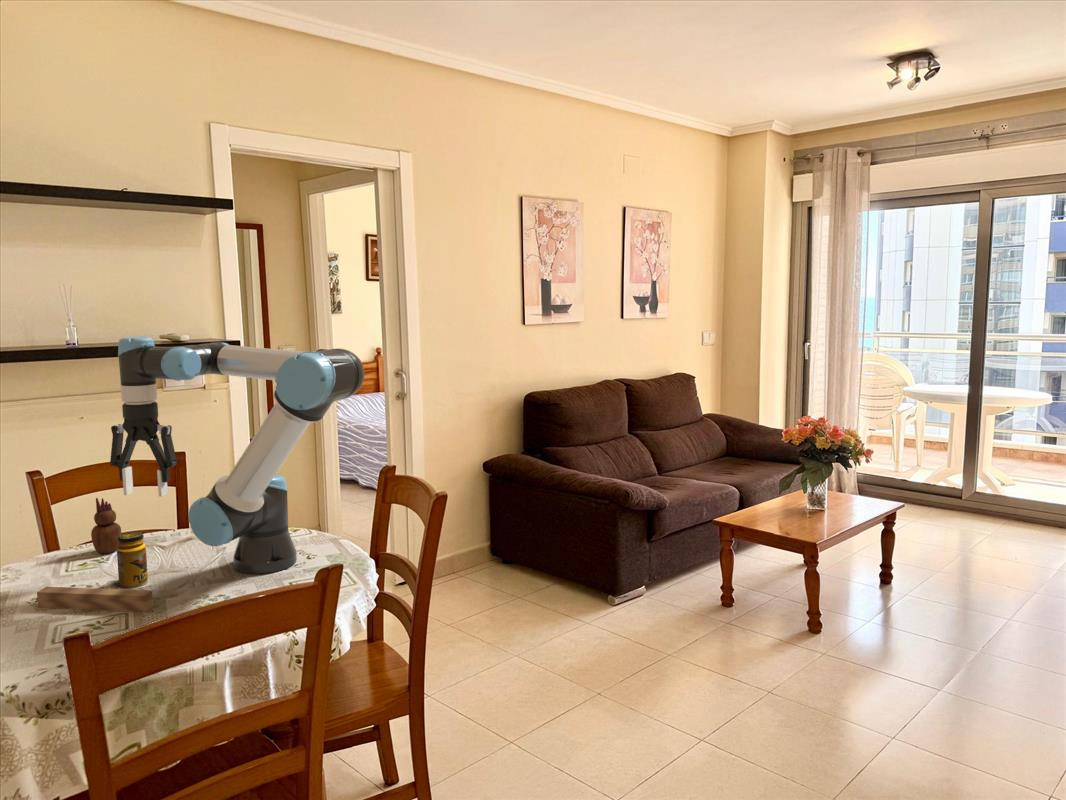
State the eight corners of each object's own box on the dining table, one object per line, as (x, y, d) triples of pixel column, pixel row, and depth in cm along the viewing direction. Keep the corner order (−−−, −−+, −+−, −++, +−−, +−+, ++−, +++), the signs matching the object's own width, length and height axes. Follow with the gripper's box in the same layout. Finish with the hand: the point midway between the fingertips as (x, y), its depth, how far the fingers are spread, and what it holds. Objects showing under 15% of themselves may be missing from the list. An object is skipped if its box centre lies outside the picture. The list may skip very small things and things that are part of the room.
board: (153, 605, 165) (152, 590, 164) (145, 611, 162) (144, 596, 161) (47, 601, 166) (46, 586, 165) (38, 607, 163) (36, 592, 162)
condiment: (151, 585, 175) (148, 536, 174) (110, 593, 171) (106, 543, 169) (147, 575, 181) (144, 528, 180) (107, 582, 177) (103, 534, 175)
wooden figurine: (95, 557, 192) (91, 501, 190) (90, 551, 197) (86, 496, 194) (124, 551, 197) (120, 496, 195) (119, 545, 201) (115, 491, 199)
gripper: (190, 400, 182) (195, 491, 185) (107, 398, 183) (113, 489, 186) (173, 405, 174) (179, 500, 178) (87, 403, 175) (94, 497, 179)
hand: (145, 494), depth 182 cm, fingers open, 8 cm apart
